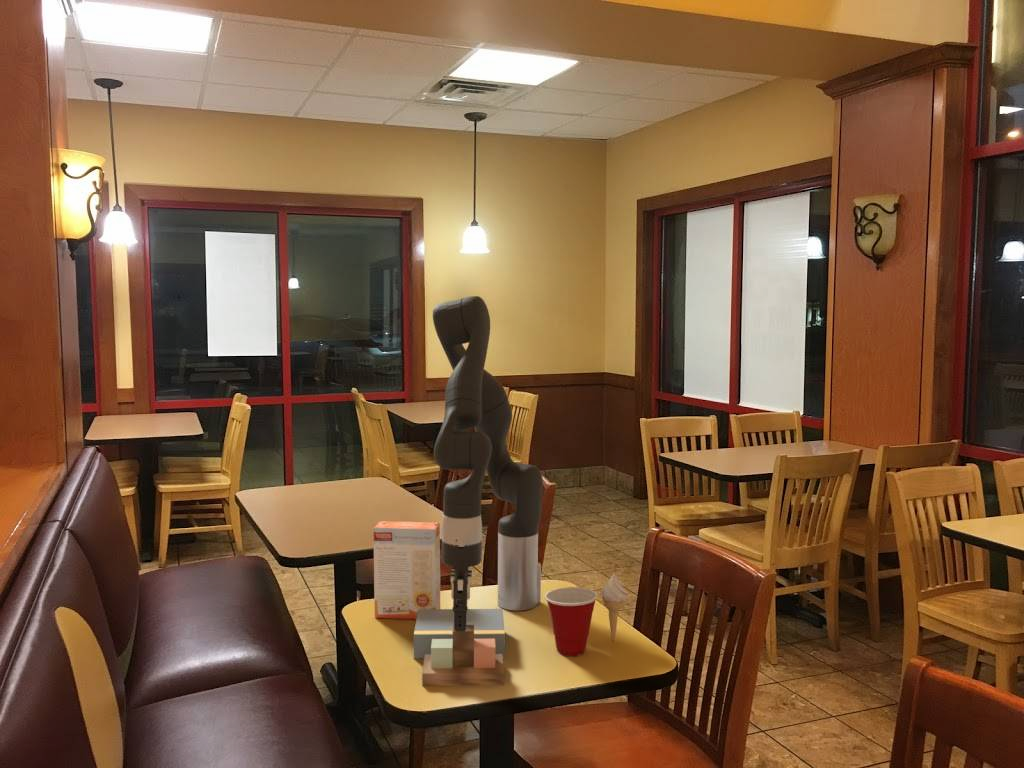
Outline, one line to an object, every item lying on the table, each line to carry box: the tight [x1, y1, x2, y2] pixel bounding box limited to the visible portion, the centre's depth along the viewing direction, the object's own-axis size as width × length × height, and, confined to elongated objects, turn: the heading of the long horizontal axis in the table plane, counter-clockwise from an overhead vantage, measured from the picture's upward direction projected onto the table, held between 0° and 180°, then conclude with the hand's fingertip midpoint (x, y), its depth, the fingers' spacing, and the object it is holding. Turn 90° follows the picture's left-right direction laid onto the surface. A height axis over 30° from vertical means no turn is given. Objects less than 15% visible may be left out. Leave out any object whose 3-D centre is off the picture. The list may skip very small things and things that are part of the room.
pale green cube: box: [431, 639, 453, 669], centre depth 158 cm, size 4×4×4 cm
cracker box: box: [373, 520, 441, 620], centre depth 186 cm, size 14×6×21 cm, turn 84°
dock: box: [413, 608, 506, 660], centre depth 172 cm, size 18×13×5 cm
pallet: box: [421, 625, 505, 687], centre depth 158 cm, size 15×8×10 cm, turn 92°
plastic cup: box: [544, 586, 599, 657], centre depth 170 cm, size 11×11×12 cm
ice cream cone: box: [600, 572, 628, 642], centre depth 174 cm, size 6×6×15 cm
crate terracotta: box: [474, 639, 495, 668], centre depth 158 cm, size 4×4×4 cm
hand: (460, 621), depth 157 cm, fingers open, 8 cm apart
